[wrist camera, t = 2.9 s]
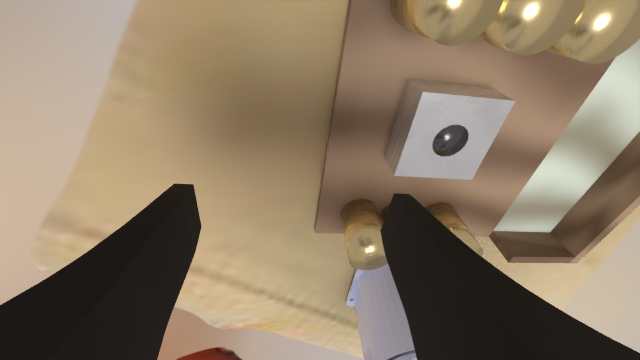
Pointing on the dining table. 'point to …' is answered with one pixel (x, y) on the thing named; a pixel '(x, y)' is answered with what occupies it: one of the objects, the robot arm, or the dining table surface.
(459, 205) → the tray
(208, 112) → the dining table surface
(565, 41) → the spacers
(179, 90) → the dining table surface
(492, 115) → the square block with knob
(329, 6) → the dining table surface
